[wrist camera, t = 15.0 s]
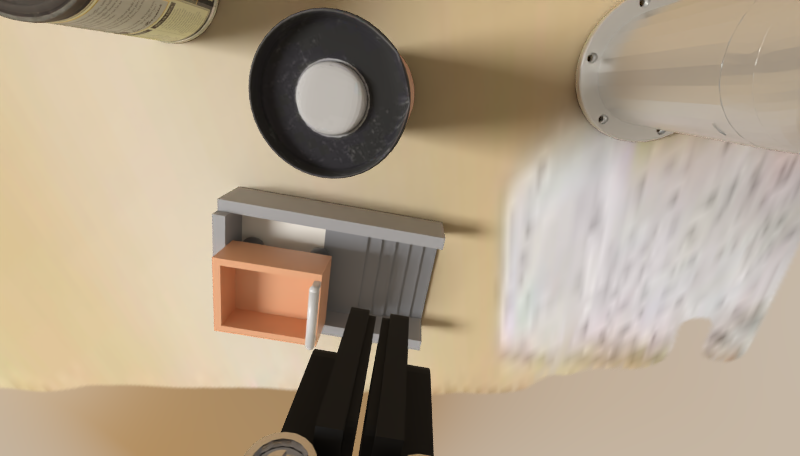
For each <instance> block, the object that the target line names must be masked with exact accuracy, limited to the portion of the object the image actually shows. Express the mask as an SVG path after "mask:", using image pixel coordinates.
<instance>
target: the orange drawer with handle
mask: <svg viewBox="0 0 800 456" xmlns="http://www.w3.org/2000/svg"><path fill="white" fill-rule="evenodd" d="M331 259H332V256H330V254H329V252H328V251H327V250H326V249H324V248H315V249H313V250H311V251H310V252H304V251H297V250H291V249H285V248H279V247H273V246H266V245H264V243H263V242H262V240H260V239H259V238H257V237H249V238H246V239H245V240H244V241H243V242H242V241H235V240H232V241H231V242H230V243H229V244H227V245H226V246H225V247H224V248H223V249H221V250H220V251H219V252H218V253H217V254H215V255H214V256H213V257H212V272H213V304H214V330H215V331H221V332H227V333H233V334H240V335H246V336H252V337H259V338H265V339H271V340H278V341H284V342H290V343H297V344H303V345H305V348H306V349H307V350H312V349H313V348H314V346H315V347H316V345H317V342H318V340H319V337H320V334H321V332H322V329H323V327H324V324H325V320H326V310H327V300H328V290H329V280H330V269H331Z"/></svg>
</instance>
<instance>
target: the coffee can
mask: <svg viewBox="0 0 800 456" xmlns="http://www.w3.org/2000/svg"><path fill="white" fill-rule="evenodd" d="M218 1H219V0H0V16H3V17H6V18H9V19H13V20H18V21H24V22H33V23H51V24H57V25H63V26H70V27H76V28H83V29H89V30H96V31H102V32H108V33H114V34H122V35H127V36H133V37H140V38H146V39H152V40H158V41H161V42H164V43H183V42H187V41H190V40H192V39H194V38H196V37H198V36H199V35H200V34H201V33H203V32H204V31H205V30H206V28H207V27H208V26H209V25H210V23H211V21H212V20H213V18H214V16H215V13H216V10H217V6H218Z"/></svg>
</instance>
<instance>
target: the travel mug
mask: <svg viewBox="0 0 800 456" xmlns="http://www.w3.org/2000/svg"><path fill="white" fill-rule="evenodd" d="M249 100H250V105H251V110H252V113H253V117H254V120H255V122H256V124H257V127H258V129H259V131H260V133H261V134H262V136H263V138H264V139H265V141H266V142H267V143H268V145H269V146H270V147H271V148H272V150H273V151H274V152H275V153H276V154H277V155H278V156H279V157H281V158H282V159H283V160H284V161H285V162H287V163H288V164H290V165H291V166H293V167H294V168H296V169H298V170H300V171H302V172H304V173H307V174H310V175H313V176H317V177H322V178H332V179H333V178H346V177H351V176H355V175H358V174H361V173H363V172H365V171H368V170H370V169H371V168H373V167H374V166H376V165H377V164H379V163H380V162H381V161H382V160H383V159H385V158H386V157H387V156H388V154H389V153H390V152H391V151H392V150H393V149H394V147H395V146H396V144H397V143H398V141H399V139H400V137H401V135H402V133H403V131H404V129H405V126H406V124H407V122H408V119H409V117H410V114H411V111H412V108H413V104H414V83H413V79H412V75H411V72H410V70H409V68H408V66H407V64H406V62H405V60H404V59H403V58H402V57H401V55H400V54H399V53H398V51H397V49H396V48H395V47H394V45H393V44H392V43H391V42H390V40H389V39H388V38H387V37H386V36H385V35H384V34H383V33H382V32H381V31H380V30H379V29H377V28H376V27H375V26H373V25H372V24H371V23H370V22H368V21H366V20H365V19H363V18H361V17H359V16H357V15H355V14H352V13H350V12H347V11H343V10H339V9H333V8H313V9H308V10H304V11H300V12H298V13H295V14H293V15H290V16H289V17H287V18H285V19H284V20H282V21H281V22H279V23H278V24H277V25H276V26H275V27H273V28H272V29H271V31H270V32H269V33H268V34H267V35H266V36H265V38H264V39H263V41H262V42H261V44H260V45H259V47H258V49H257V51H256V53H255V56H254V59H253V62H252V65H251V70H250V75H249Z"/></svg>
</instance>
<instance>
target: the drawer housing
mask: <svg viewBox="0 0 800 456" xmlns="http://www.w3.org/2000/svg"><path fill="white" fill-rule="evenodd" d="M212 228H213V256H214V255H215V254H217V253H218V252H219V251H220V250H221V249H223V248H224V247H225V246H226V245H227V244H229V243H230V242H231V241H232V240H235V241H242V242H243V241H244V240H245V239H246V238H249V237H257V238H259V239H260V240H262V242H263V243H264V245H266V246H273V247H279V248H285V249H291V250H297V251H304V252H310V251H311V250H313V249H315V248H324V249H326V250H327V251H328V252H329V254H330V256H332V259H331V269H330V280H329V290H328V300H327V310H326V320H325V324H324V327H323V329H322V332H321V334H326V335H332V336H337V337H342V336H343V333H344V329H345V326H346V323H347V320H348V316H349V313H350V310H351V307H355V308H361V309H367V310H370V314H369V315H372V316H376V322H375V328H374V333H373V339H372V342H373V343H378V339H379V333H380V328H381V322H382V317H383V318H390V314H396V315H402V316H408V317H409V334H408V349H414V350H420V345H421V317H422V313H423V308H424V304H425V300H426V295H427V291H428V286H429V282H430V277H431V273H432V268H433V264H434V260H435V255H436V251H437V249H441V250H443V246H444V242H445V234H444V229H443V223H442V222H437V221H431V220H425V219H420V218H414V217H408V216H402V215H397V214H391V213H385V212H380V211H374V210H368V209H363V208H357V207H351V206H345V205H340V204H334V203H328V202H323V201H317V200H311V199H306V198H300V197H294V196H289V195H283V194H277V193H271V192H266V191H260V190H254V189H249V188H243V187H238V188H236V189H234V190H232V191H230V192H229V193H227V194H225V195H223V196H222V197H220V198H218V211H216V212H215V213H213V214H212Z"/></svg>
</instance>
